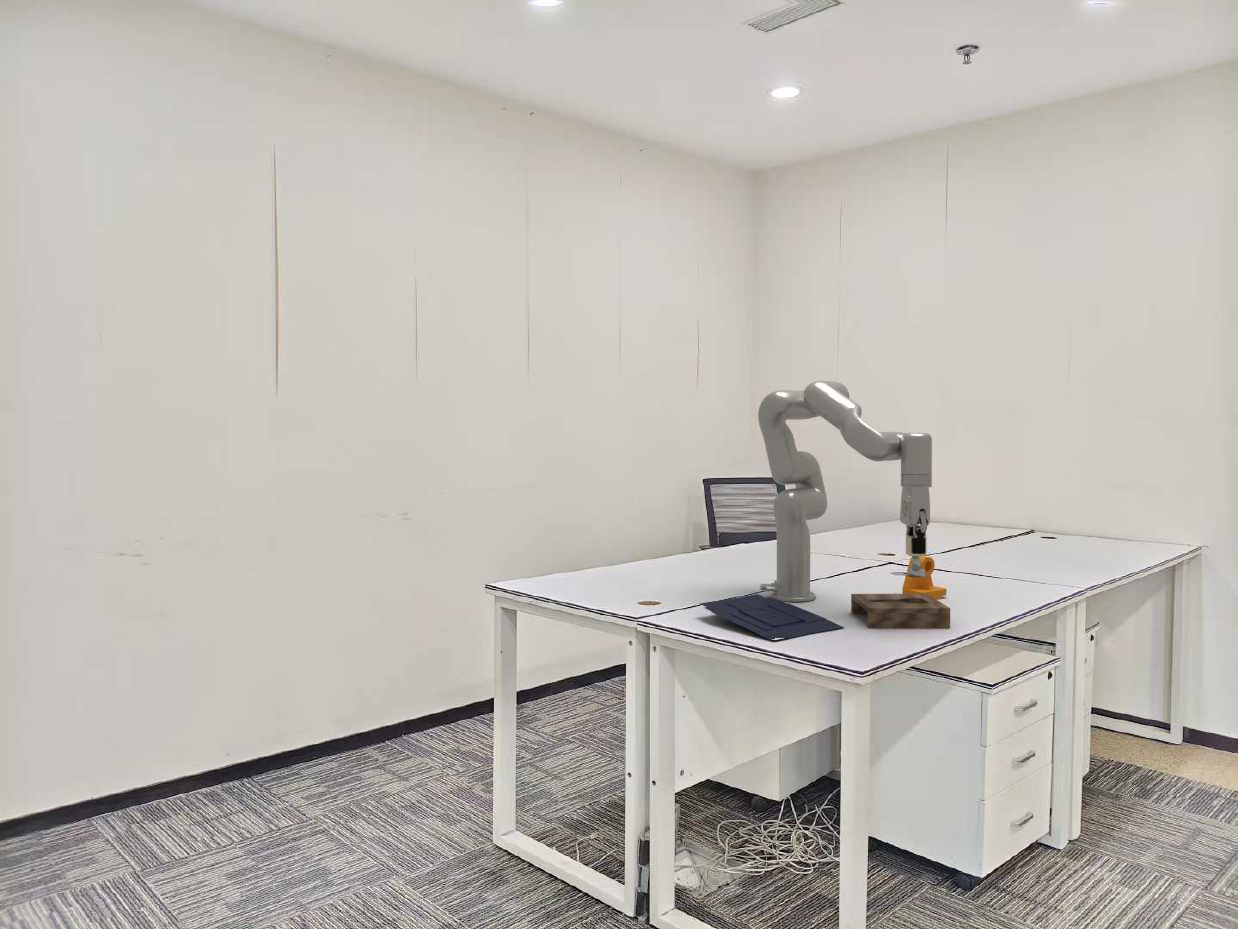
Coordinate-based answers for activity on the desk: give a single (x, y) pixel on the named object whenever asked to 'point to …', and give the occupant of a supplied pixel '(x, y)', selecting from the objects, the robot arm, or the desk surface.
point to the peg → (914, 559)
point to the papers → (770, 616)
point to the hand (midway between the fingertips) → (915, 551)
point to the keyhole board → (901, 610)
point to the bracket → (923, 581)
